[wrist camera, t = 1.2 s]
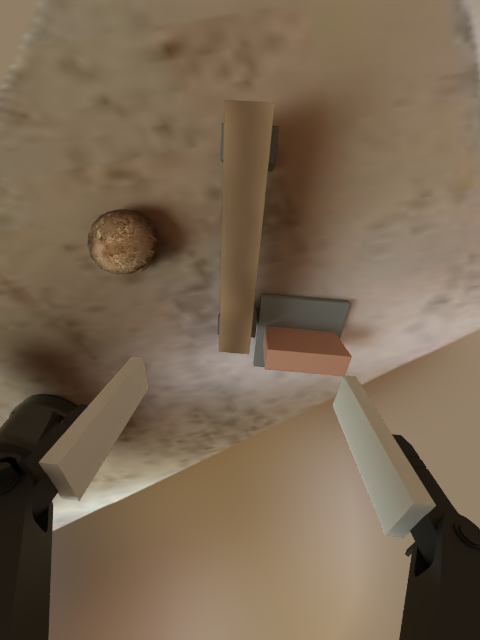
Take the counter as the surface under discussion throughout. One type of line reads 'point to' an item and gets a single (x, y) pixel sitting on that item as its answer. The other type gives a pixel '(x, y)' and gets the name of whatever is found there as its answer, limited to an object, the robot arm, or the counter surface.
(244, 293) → the rod
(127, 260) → the mushroom
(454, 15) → the counter surface
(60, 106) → the counter surface
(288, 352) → the fulcrum
